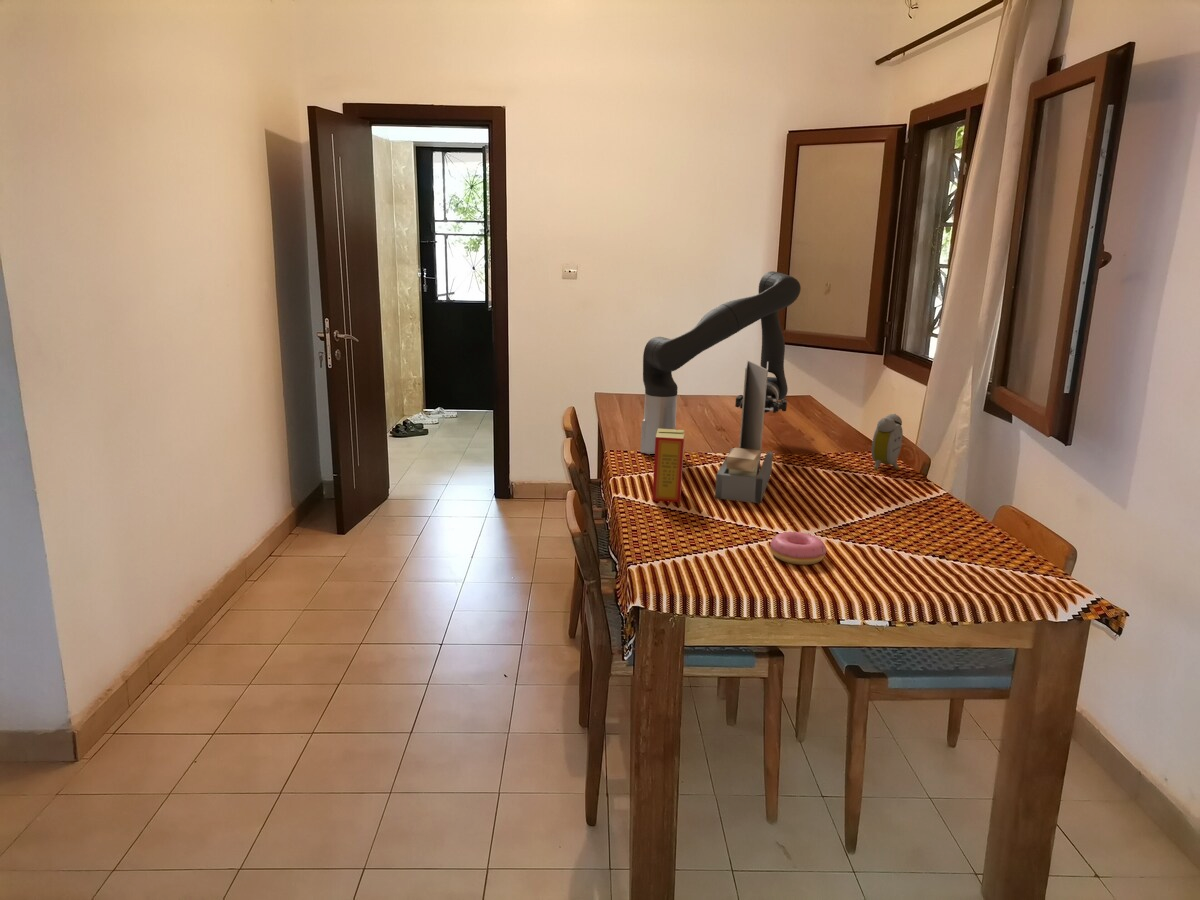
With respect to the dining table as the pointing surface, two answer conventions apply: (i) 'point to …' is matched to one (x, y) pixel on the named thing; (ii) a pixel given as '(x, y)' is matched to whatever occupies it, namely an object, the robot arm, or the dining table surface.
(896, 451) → the alarm clock
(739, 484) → the rack
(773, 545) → the doughnut
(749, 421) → the brochure
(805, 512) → the dining table surface
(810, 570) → the dining table surface
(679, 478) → the baking soda box
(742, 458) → the offcut stack
